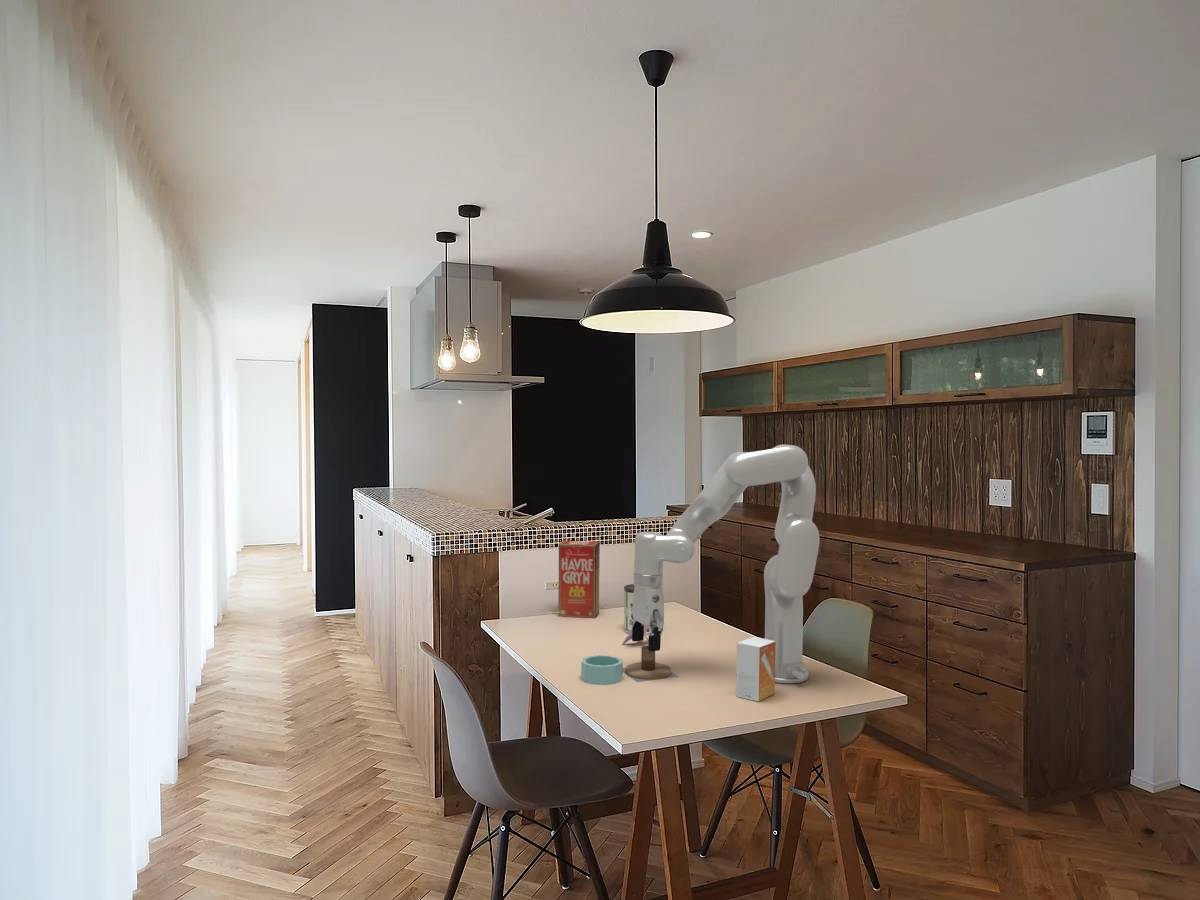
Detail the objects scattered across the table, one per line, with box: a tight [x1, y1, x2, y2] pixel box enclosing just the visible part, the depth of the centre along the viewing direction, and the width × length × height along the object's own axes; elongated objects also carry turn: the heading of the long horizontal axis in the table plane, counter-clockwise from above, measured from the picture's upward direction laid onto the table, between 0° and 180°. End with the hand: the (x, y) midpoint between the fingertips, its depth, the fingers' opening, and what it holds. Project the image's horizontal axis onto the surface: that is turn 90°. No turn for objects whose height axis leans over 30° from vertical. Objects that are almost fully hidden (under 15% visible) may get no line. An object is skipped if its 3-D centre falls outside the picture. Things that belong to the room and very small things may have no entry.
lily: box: [622, 625, 649, 645], centre depth 237 cm, size 12×12×10 cm
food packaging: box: [557, 540, 601, 619], centre depth 276 cm, size 13×9×25 cm
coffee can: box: [623, 583, 655, 635], centre depth 254 cm, size 10×10×14 cm
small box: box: [735, 636, 776, 702], centre depth 192 cm, size 8×6×13 cm
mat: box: [623, 667, 680, 683], centre depth 208 cm, size 12×12×1 cm
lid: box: [624, 645, 672, 681], centre depth 208 cm, size 12×12×6 cm
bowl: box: [580, 654, 624, 686], centre depth 203 cm, size 10×10×5 cm
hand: (645, 645), depth 208 cm, fingers open, 9 cm apart
